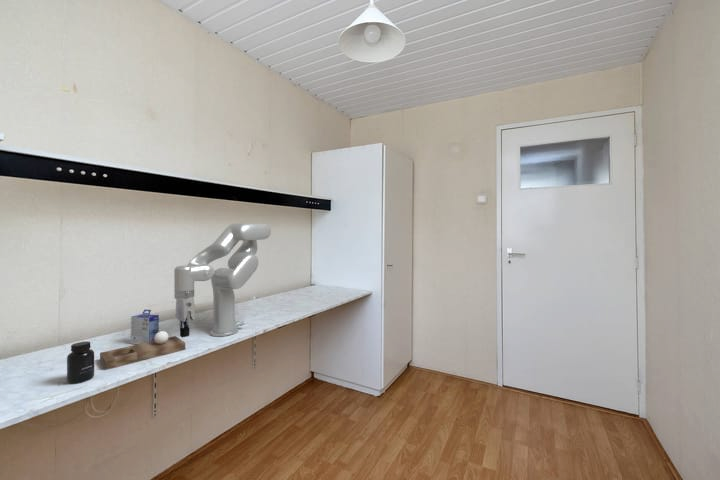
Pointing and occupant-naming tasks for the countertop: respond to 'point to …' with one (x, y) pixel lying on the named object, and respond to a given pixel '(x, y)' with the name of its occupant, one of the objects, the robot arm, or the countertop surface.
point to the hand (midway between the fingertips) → (184, 336)
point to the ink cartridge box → (144, 327)
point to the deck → (140, 352)
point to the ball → (161, 337)
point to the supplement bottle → (80, 363)
